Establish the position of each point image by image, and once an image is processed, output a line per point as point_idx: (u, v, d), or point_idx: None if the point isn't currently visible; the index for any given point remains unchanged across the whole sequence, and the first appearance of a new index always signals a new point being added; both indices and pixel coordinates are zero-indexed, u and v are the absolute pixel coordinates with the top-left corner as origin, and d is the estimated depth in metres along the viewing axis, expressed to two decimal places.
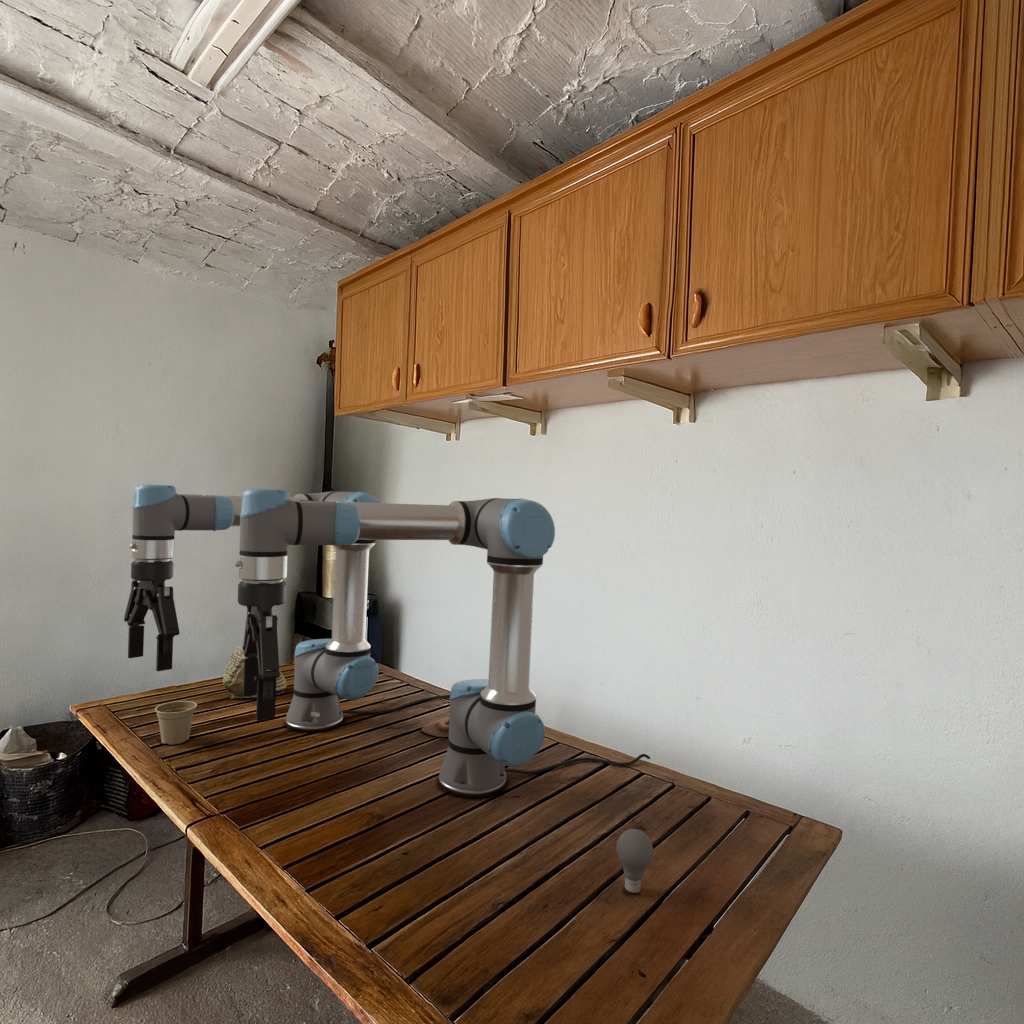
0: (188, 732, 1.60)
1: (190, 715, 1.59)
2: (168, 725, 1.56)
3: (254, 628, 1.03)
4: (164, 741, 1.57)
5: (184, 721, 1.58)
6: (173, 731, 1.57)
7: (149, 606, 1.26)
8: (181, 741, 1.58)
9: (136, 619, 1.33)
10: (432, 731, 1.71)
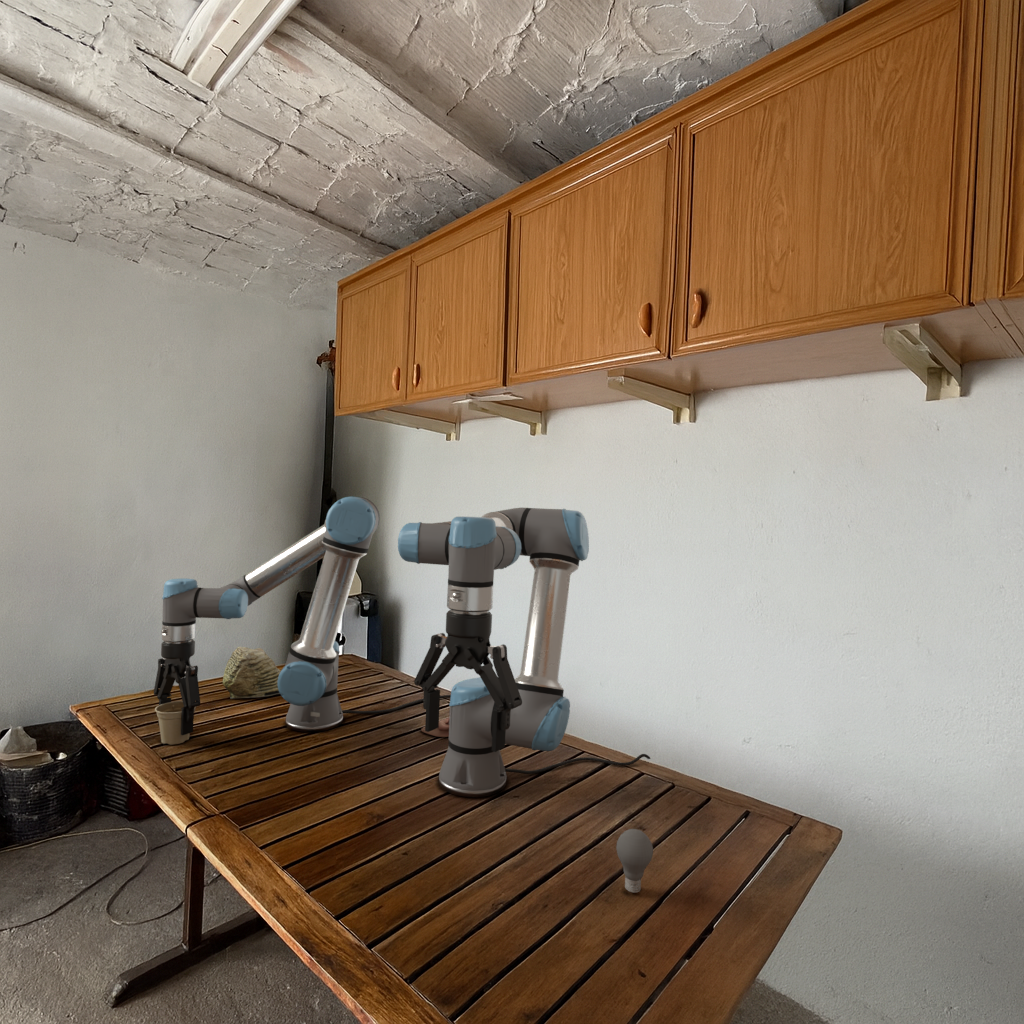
0: None
1: None
2: (168, 725, 1.56)
3: (476, 660, 1.01)
4: (164, 741, 1.57)
5: None
6: (173, 731, 1.57)
7: (177, 681, 1.57)
8: (181, 741, 1.58)
9: (165, 692, 1.62)
10: (432, 731, 1.71)
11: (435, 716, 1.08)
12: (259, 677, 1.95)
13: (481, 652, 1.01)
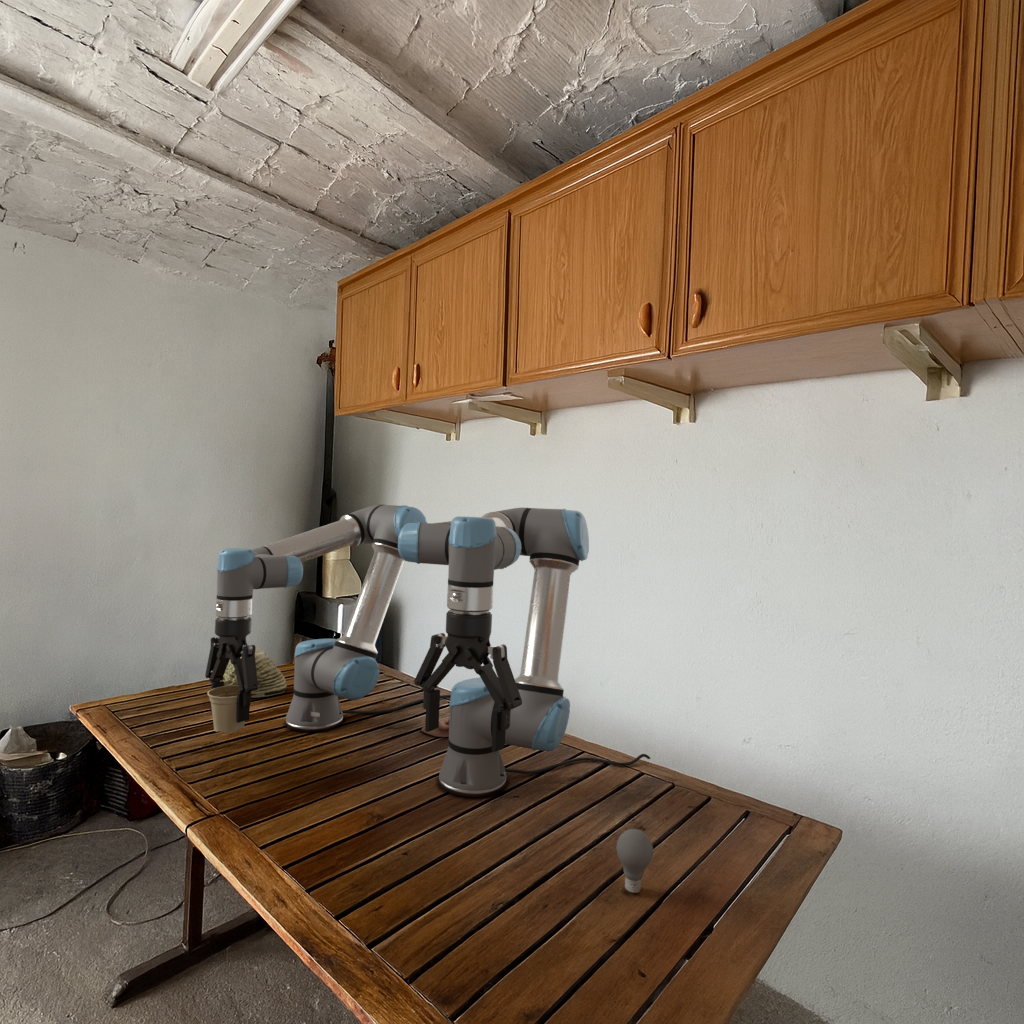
0: None
1: None
2: (222, 711, 1.40)
3: (476, 660, 1.01)
4: (217, 729, 1.40)
5: None
6: (228, 718, 1.40)
7: (232, 661, 1.40)
8: (236, 729, 1.41)
9: (218, 674, 1.46)
10: (432, 731, 1.71)
11: (435, 716, 1.08)
12: (259, 677, 1.95)
13: (481, 652, 1.01)
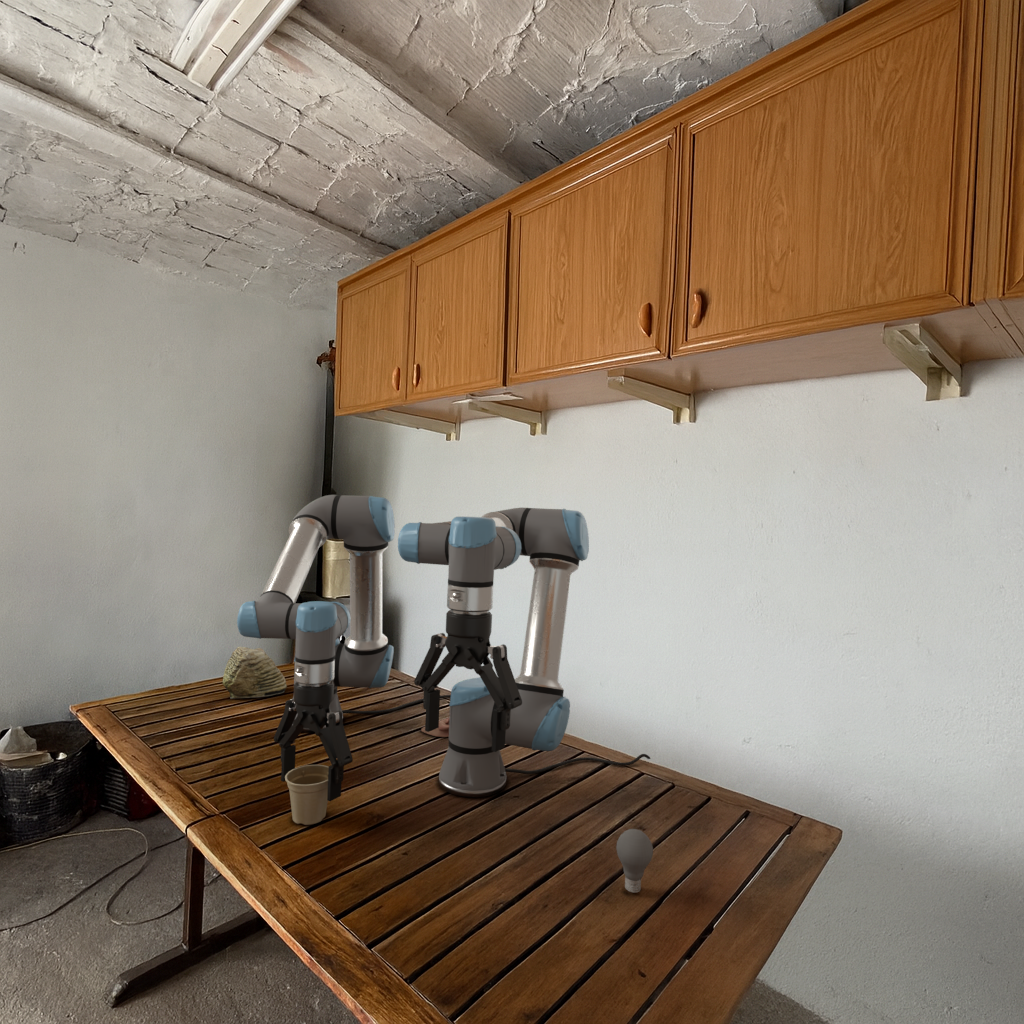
0: (326, 807, 1.25)
1: None
2: (304, 800, 1.21)
3: (476, 660, 1.01)
4: (298, 820, 1.22)
5: (322, 794, 1.23)
6: (310, 808, 1.22)
7: (317, 733, 1.22)
8: (318, 820, 1.23)
9: (290, 740, 1.28)
10: (432, 731, 1.71)
11: (435, 716, 1.08)
12: (259, 677, 1.95)
13: (481, 652, 1.01)
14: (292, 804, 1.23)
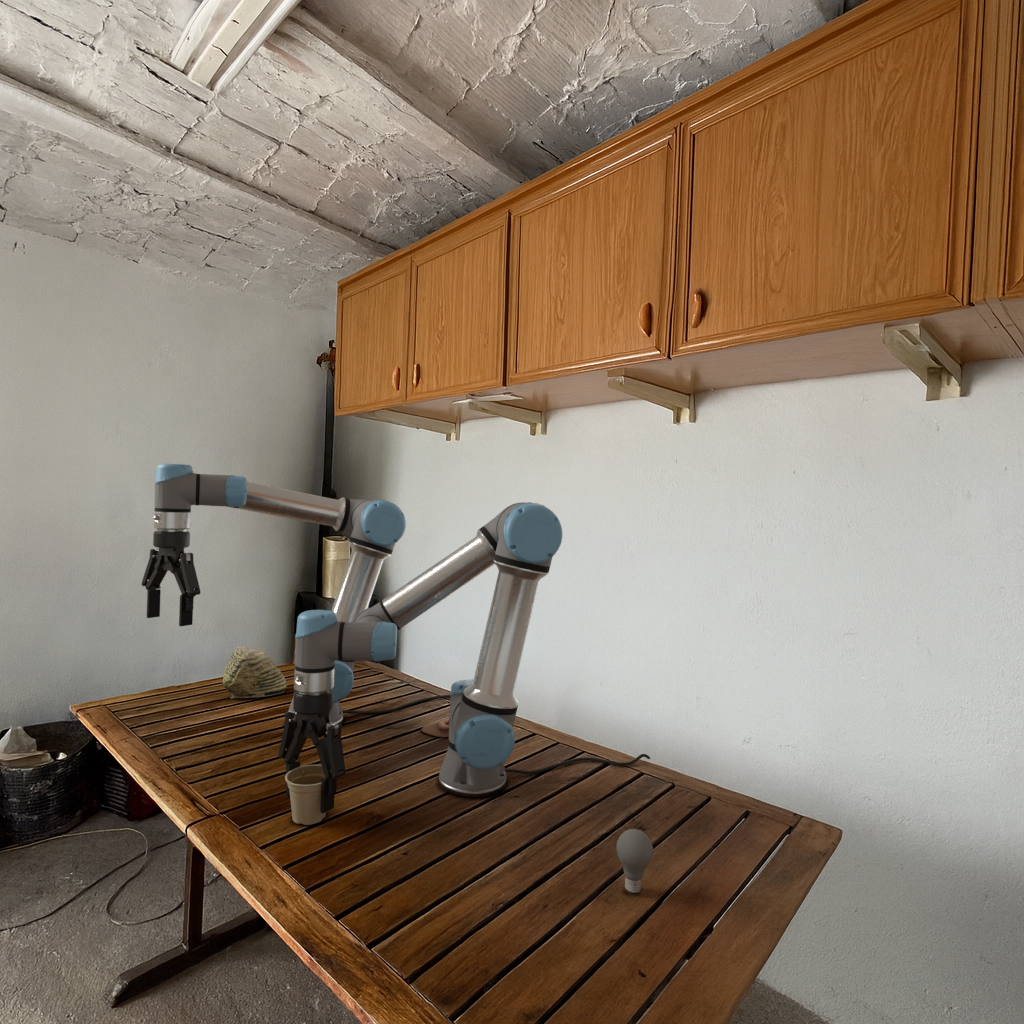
0: None
1: None
2: (304, 800, 1.21)
3: (315, 734, 1.22)
4: (298, 820, 1.22)
5: None
6: (310, 808, 1.22)
7: (172, 570, 1.44)
8: (318, 820, 1.23)
9: (154, 583, 1.50)
10: (432, 731, 1.71)
11: None
12: (259, 677, 1.95)
13: (320, 726, 1.22)
14: (292, 804, 1.23)
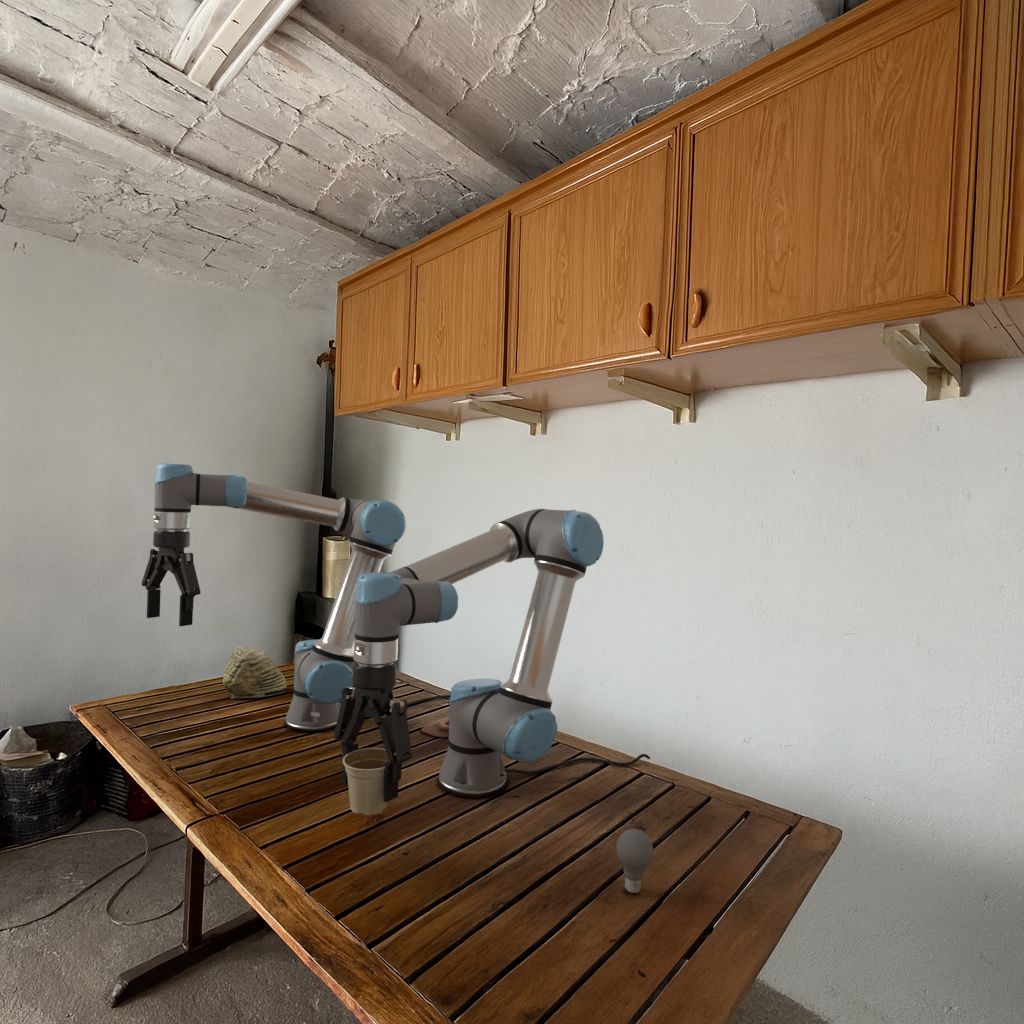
0: None
1: None
2: (364, 787, 1.07)
3: (377, 712, 1.07)
4: (357, 810, 1.07)
5: None
6: (372, 796, 1.07)
7: (172, 570, 1.44)
8: (380, 810, 1.08)
9: (154, 583, 1.50)
10: (432, 731, 1.71)
11: None
12: (259, 677, 1.95)
13: (383, 703, 1.07)
14: (351, 791, 1.08)
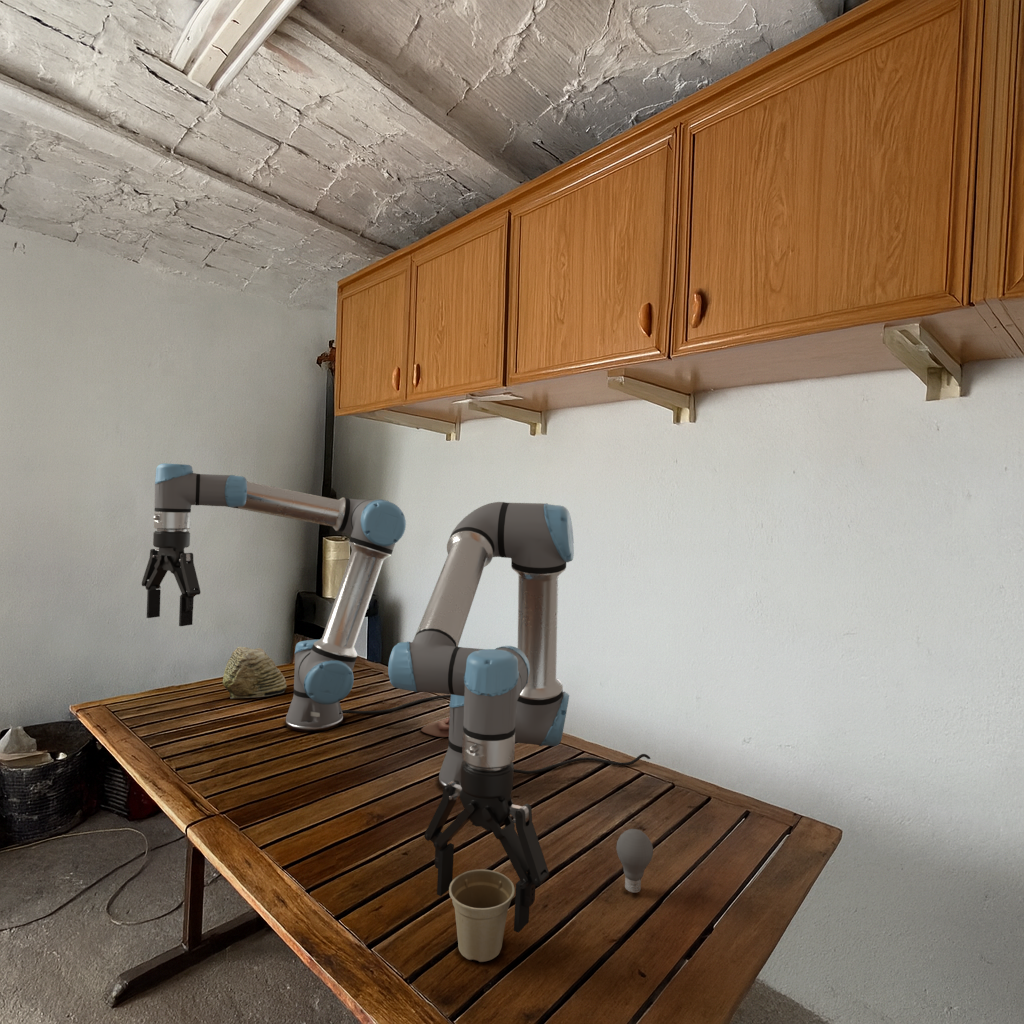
0: None
1: None
2: (480, 929, 0.87)
3: (496, 822, 0.88)
4: (470, 956, 0.88)
5: (503, 919, 0.89)
6: (488, 939, 0.88)
7: (172, 570, 1.44)
8: (497, 953, 0.89)
9: (154, 583, 1.50)
10: (432, 731, 1.71)
11: (448, 876, 0.95)
12: (259, 677, 1.95)
13: (502, 813, 0.88)
14: (461, 932, 0.88)
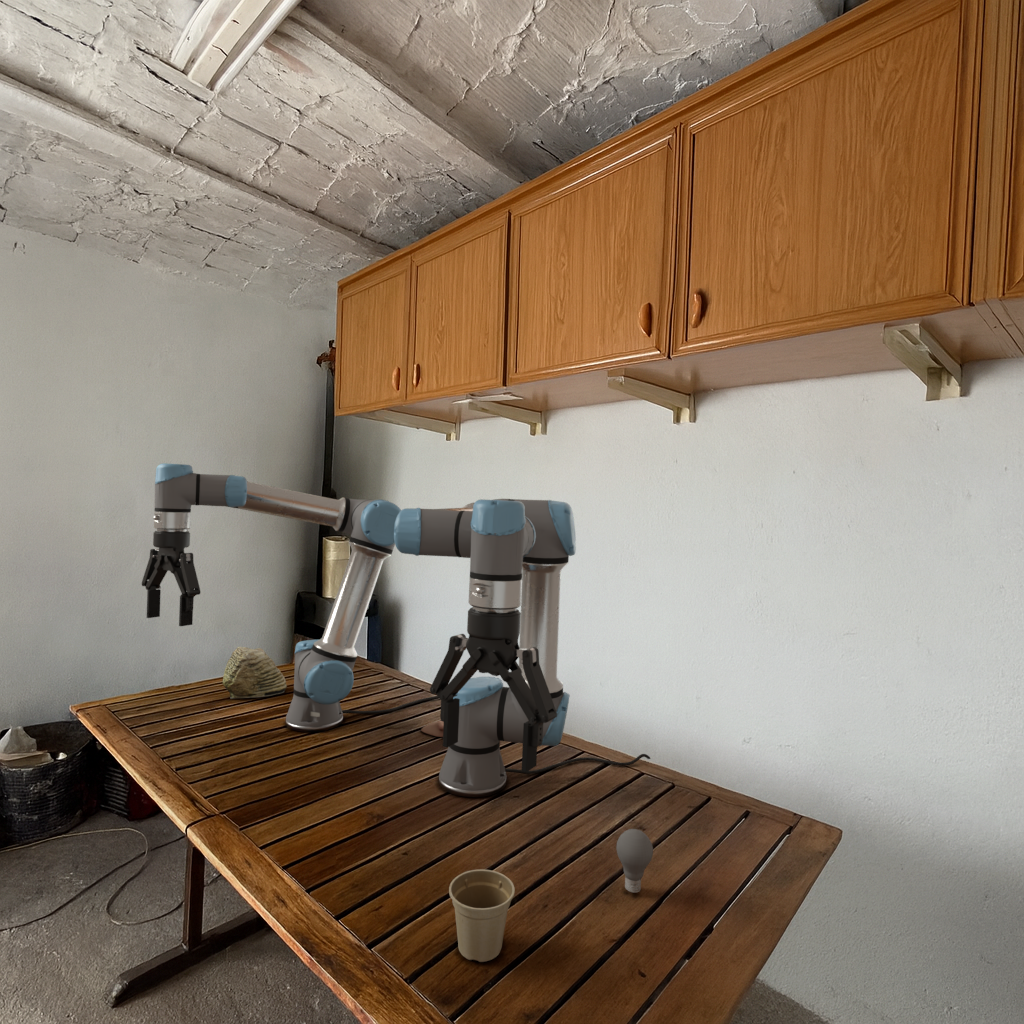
0: None
1: None
2: (480, 929, 0.87)
3: (503, 665, 0.87)
4: (470, 956, 0.88)
5: (503, 919, 0.89)
6: (488, 939, 0.88)
7: (172, 570, 1.44)
8: (497, 953, 0.89)
9: (154, 583, 1.50)
10: (432, 731, 1.71)
11: (454, 729, 0.94)
12: (259, 677, 1.95)
13: (509, 656, 0.87)
14: (461, 932, 0.88)
